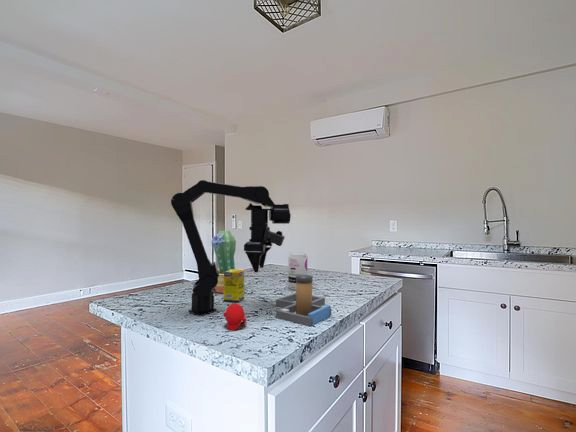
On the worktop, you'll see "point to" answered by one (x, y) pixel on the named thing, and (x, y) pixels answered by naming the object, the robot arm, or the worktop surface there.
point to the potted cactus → (224, 255)
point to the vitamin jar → (304, 294)
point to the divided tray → (311, 319)
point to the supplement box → (233, 285)
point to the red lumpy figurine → (235, 316)
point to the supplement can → (296, 268)
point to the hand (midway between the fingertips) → (259, 269)
